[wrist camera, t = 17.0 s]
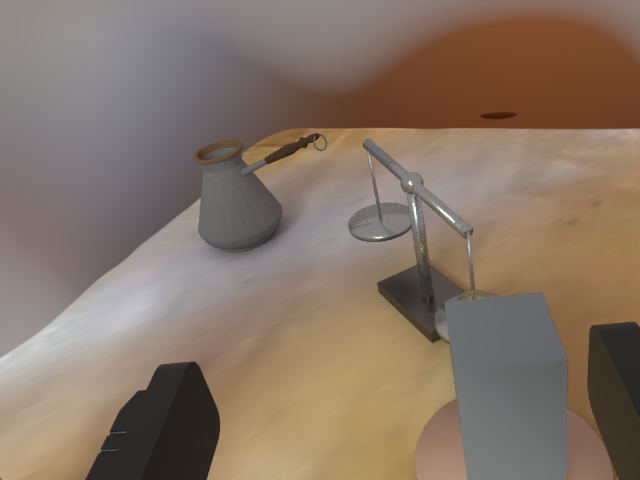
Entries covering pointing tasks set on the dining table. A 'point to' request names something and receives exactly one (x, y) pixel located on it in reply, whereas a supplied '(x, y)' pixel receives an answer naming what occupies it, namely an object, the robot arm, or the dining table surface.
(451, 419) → the terracotta dish
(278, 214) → the coffee pot
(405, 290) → the tipped balance
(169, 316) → the dining table surface
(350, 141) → the dining table surface
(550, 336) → the grey rectangular block
